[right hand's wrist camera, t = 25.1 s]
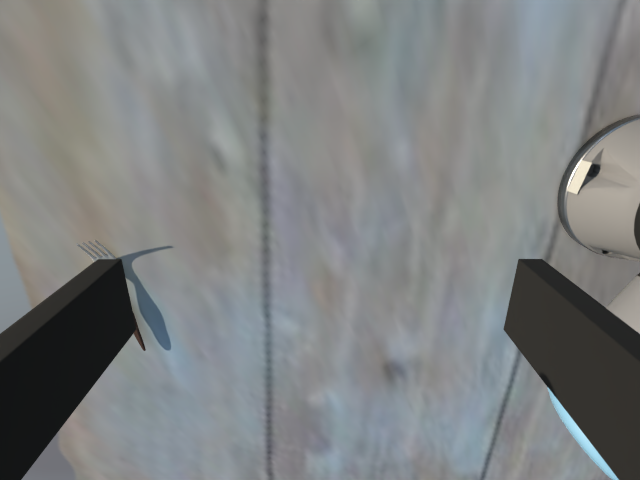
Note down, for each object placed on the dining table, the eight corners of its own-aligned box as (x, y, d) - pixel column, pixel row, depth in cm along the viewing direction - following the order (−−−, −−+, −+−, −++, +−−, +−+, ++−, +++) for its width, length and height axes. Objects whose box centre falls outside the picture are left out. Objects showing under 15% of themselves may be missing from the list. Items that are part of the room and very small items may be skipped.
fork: (136, 349, 49) (129, 360, 47) (84, 237, 43) (74, 244, 41) (156, 346, 49) (149, 356, 47) (106, 233, 43) (96, 239, 41)
